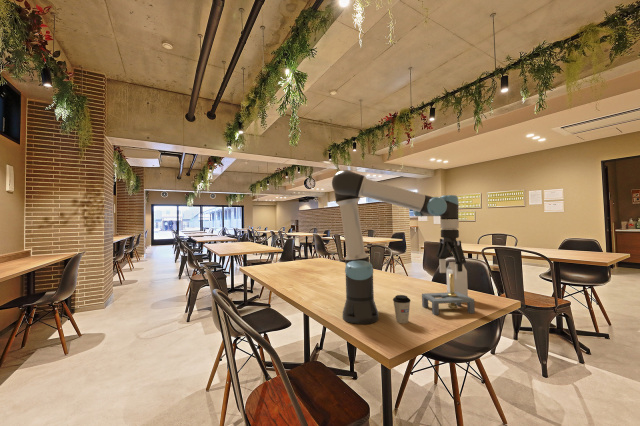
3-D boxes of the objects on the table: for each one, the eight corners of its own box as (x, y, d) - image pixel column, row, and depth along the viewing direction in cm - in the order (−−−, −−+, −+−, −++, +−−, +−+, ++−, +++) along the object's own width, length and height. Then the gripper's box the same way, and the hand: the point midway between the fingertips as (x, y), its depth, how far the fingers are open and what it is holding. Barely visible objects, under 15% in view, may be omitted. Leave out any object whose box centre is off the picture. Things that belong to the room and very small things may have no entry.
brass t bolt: (450, 308, 121) (449, 275, 122) (446, 306, 125) (445, 273, 125) (459, 308, 121) (457, 274, 122) (454, 305, 125) (453, 273, 126)
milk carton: (468, 301, 134) (466, 262, 135) (453, 301, 134) (452, 263, 135) (461, 297, 141) (459, 260, 142) (447, 297, 141) (445, 261, 142)
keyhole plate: (434, 315, 116) (434, 301, 117) (422, 306, 128) (421, 293, 129) (474, 313, 118) (474, 299, 118) (458, 304, 129) (458, 292, 130)
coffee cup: (390, 319, 112) (389, 295, 113) (403, 317, 115) (402, 293, 115) (401, 325, 106) (400, 299, 106) (415, 322, 109) (414, 297, 109)
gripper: (474, 230, 112) (475, 281, 111) (443, 228, 137) (444, 270, 136) (457, 230, 111) (458, 282, 111) (429, 228, 136) (429, 270, 136)
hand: (450, 275), depth 124 cm, fingers open, 13 cm apart
